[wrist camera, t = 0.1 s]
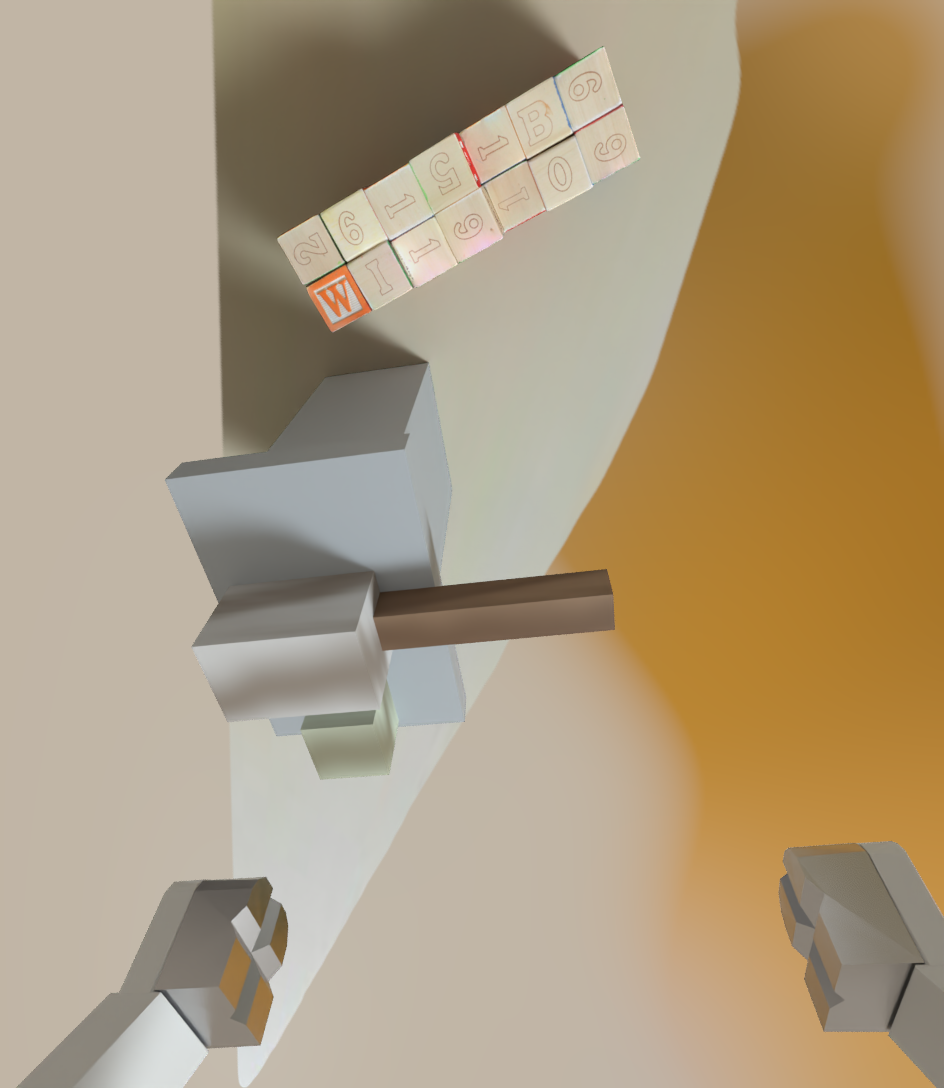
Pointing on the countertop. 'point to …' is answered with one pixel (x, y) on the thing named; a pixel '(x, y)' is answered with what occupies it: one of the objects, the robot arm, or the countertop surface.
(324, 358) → the countertop surface
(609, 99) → the stack of blocks
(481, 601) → the steel-headed mallet
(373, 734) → the sage cube
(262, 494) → the grey pedestal
